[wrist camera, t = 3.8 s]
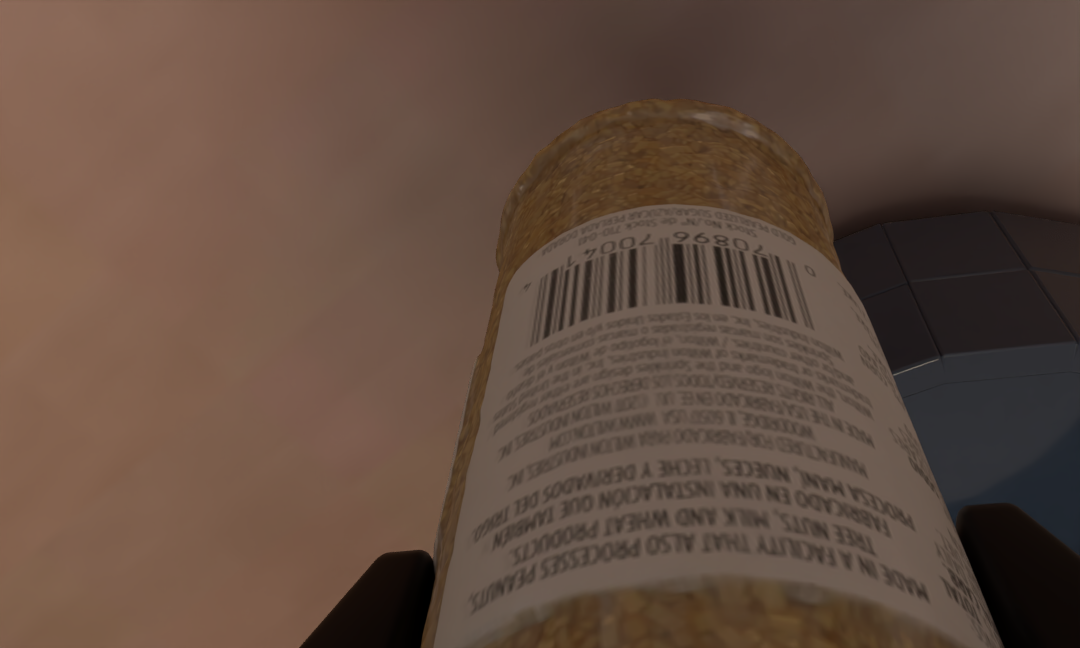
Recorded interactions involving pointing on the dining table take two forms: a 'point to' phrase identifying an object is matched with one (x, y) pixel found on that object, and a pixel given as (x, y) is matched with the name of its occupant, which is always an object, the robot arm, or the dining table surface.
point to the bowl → (983, 352)
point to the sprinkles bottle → (687, 416)
